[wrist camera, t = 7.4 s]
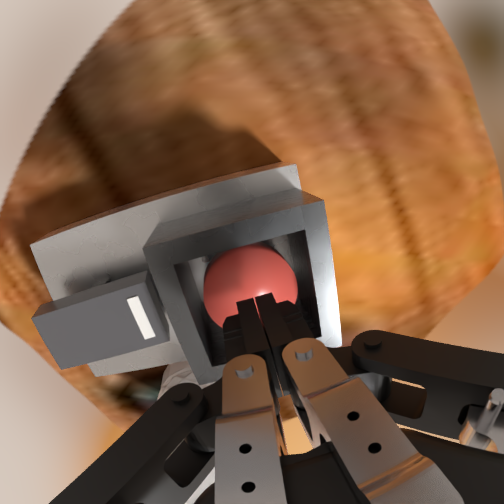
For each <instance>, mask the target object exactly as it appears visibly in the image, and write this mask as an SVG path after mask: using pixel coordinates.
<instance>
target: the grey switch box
mask: <svg viewBox="0 0 504 504" xmlns="http://www.w3.org/2000/svg"><path fill="white" fill-rule="evenodd" d="M256 242H262V243H265V244H268V245H270V246H272V247H273V248H275V249H276V250H277V251H278V252H279V253H280V254H281V255H282V256H283V257H284V259H285V260H286V261H287V263H288V264H289V266H290V267H291V269H292V270H293V272H294V274H295V277H296V280H297V286H298V293H297V299H296V302H295V304H296V306H297V308H298V309H299V311H300V313H301V315H302V316H303V319H304V320H305V322H306V323H307V325H308V327H309V329H310V331H311V332H312V334H313V336H314V338H315V339H318V340H320V341H321V342H322V343H323V344H324V345H325V346H326V347H332V348H336V347H339V346H341V345H342V340H341V328H340V318H339V307H338V298H337V289H336V281H335V272H334V265H333V257H332V250H331V243H330V236H329V229H328V223H327V216H326V210H325V204H324V200H322V199H320V198H318V197H316V196H313V195H311V194H309V193H307V192H305V191H302V190H301V186H300V181H299V176H298V171H297V166H296V164H294V163H288V162H278V163H274V164H270V165H265V166H261V167H257V168H252V169H248V170H244V171H240V172H236V173H232V174H228V175H224V176H220V177H216V178H213V179H209V180H205V181H202V182H198V183H194V184H191V185H187V186H184V187H180V188H177V189H173V190H170V191H167V192H163V193H160V194H157V195H154V196H150V197H147V198H144V199H141V200H138V201H135V202H132V203H128V204H125V205H122V206H119V207H116V208H114V209H111V210H108V211H105V212H102V213H99V214H96V215H94V216H91V217H88V218H85V219H82V220H80V221H77V222H74V223H72V224H69V225H66V226H64V227H61V228H59V229H56V230H54V231H51V232H49V233H48V234H46V235H45V236H43V237H41V238H40V239H38V240H37V241H35V242H34V243H32V244H30V247H31V250H32V252H33V255H34V257H35V260H36V262H37V265H38V267H39V270H40V272H41V275H42V277H43V279H44V282H45V284H46V286H47V288H48V291H49V293H50V295H51V297H52V299H53V301H55V300H58V299H61V298H64V297H67V296H70V295H73V294H76V293H79V292H82V291H85V290H88V289H91V288H94V287H97V286H100V285H103V284H106V283H109V282H112V281H115V280H118V279H121V278H125V277H128V276H131V275H134V274H137V273H140V272H143V271H146V270H147V271H148V274H149V277H150V279H151V282H152V284H153V287H154V290H155V292H156V295H157V297H158V300H159V302H160V305H161V307H162V309H163V312H164V314H165V317H166V319H167V321H168V324H169V331H170V341H168V342H165V343H161V344H158V345H154V346H151V347H147V348H144V349H140V350H137V351H133V352H129V353H126V354H122V355H118V356H115V357H111V358H107V359H103V360H99V361H95V362H91V363H87V364H88V366H89V367H90V369H91V370H92V372H93V374H94V375H95V377H98V376H105V375H111V374H117V373H123V372H129V371H135V370H141V369H146V368H152V367H157V366H162V365H167V364H172V363H177V362H181V361H186V360H187V361H188V363H189V365H190V367H191V369H192V372H193V374H194V376H195V378H196V380H197V382H198V384H199V385H203V384H208V383H212V382H216V381H218V380H219V379H220V378H221V377H222V374H223V369H224V367H225V365H226V364H227V361H226V352H225V344H224V335H223V328H222V327H220V326H219V325H218V324H216V323H215V322H214V321H213V319H212V318H211V317H210V315H209V314H208V312H207V310H206V308H205V304H204V297H203V283H204V274H205V271H206V268H207V266H208V264H209V262H210V261H211V259H212V258H213V257H214V256H215V255H216V254H217V253H219V252H222V251H226V250H230V249H233V248H237V247H241V246H245V245H248V244H252V243H256Z"/></svg>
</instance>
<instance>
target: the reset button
mask: <svg viewBox="0 0 504 504" xmlns="http://www.w3.org/2000/svg"><path fill="white" fill-rule="evenodd" d="M271 292H272V294H273V296H274V298H275V300H276V303H279V302H282V301H286V300H288V301H290V302H292V303H294V304H295V302H296V299H297V293H298V286H297V280H296V277H295V274H294V272H293V270H292V269H291V267H290V266H289V264H288V263H287V261H286V260H285V259H284V257H283V256H282V255H281V254H280V253H279V252H278V251H277V250H276V249H275V248H273V247H272V246H270V245H268V244H265V243H262V242H256V243H252V244H248V245H245V246H241V247H237V248H233V249H230V250H226V251H222V252H219V253H217V254H216V255H215V256H214V257H213V258H212V259H211V261H210V262H209V264H208V266H207V268H206V271H205V274H204V283H203V297H204V304H205V308H206V310H207V312H208V314H209V315H210V317H211V318H212V319H213V321H214V322H215V323H216V324H218V325H219V326H220V327H222V328H223V326H222V325H223V323H224V321H225V319H226V317H228V316H232V315H236V314H238V309H237V304H236V302H238V301H242V300H246V299H249V298H253V299H254V302H255V305H256V301H255V297H256V296H260V295H264V294H267V293H271ZM256 308H257V305H256ZM257 311H258V309H257ZM258 314H259V313H258ZM259 317H260V316H259Z"/></svg>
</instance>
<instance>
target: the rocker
mask: <svg viewBox="0 0 504 504" xmlns="http://www.w3.org/2000/svg"><path fill="white" fill-rule="evenodd" d="M31 319H32V321H33V322H34V324H35V326H36V328H37V330H38V332H39V334H40V335H41V337H42V339H43V341H44V342H45V344H46V346H47V347H48V349H49V351H50V353H51V354H52V356H53V357H54V359H55V361H56V362H57V364H58V365H59V367H60V369H61V370H62V369H66V368H71V367H75V366H79V365H83V364H87V363H91V362H95V361H99V360H103V359H107V358H111V357H115V356H118V355H122V354H126V353H129V352H133V351H137V350H140V349H144V348H147V347H151V346H154V345H158V344H161V343H165V342H168V341H170V331H169V324H168V321H167V319H166V317H165V314H164V312H163V309H162V307H161V305H160V302H159V300H158V297H157V295H156V292H155V290H154V287H153V284H152V282H151V279H150V277H149V274H148V271H147V270H146V271H143V272H140V273H137V274H134V275H131V276H128V277H125V278H121V279H118V280H115V281H112V282H109V283H106V284H103V285H100V286H97V287H94V288H91V289H88V290H85V291H82V292H79V293H76V294H73V295H70V296H67V297H64V298H61V299H58V300H55V301H52V302H49V303H46V304H43V305H41V306H40V307H39V308H38V310H37V311H36V312H35V314H34V315H33V317H32V318H31Z"/></svg>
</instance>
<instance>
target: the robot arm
mask: <svg viewBox="0 0 504 504" xmlns="http://www.w3.org/2000/svg"><path fill="white" fill-rule="evenodd" d="M255 301H256V305H257V308H256V305H255V302H254V299H253V298H249V299H246V300H242V301H238V302H236V304H237V309H238V314H236V315H232V316H228V317H226V319H225V321H224V323H223V325H222V326H223V335H224V344H225V352H226V361H227V364H226V365H225V367H224V369H223V374H222V377H221V378H220V379H219V380H218V381H216V382H215V383H213V384H211V385H209V386H207V387H205V388H203V389H201V387H200V386H198V385H197V384H194V383H181V384H177V385H175V386H173V387H171V388H170V389H168V390H167V391H166V392H165V393H164V394H163V395H162V396H161V397H160V398H159V399H158V400H157V401H156V402H155V403H154V404H153V405H152V406H151V407H150V408H149V409H148V410H147V411H146V412H145V413H144V414H143V415H142V416H141V417H140V418H139V419H138V420H137V421H136V422H135V423H134V424H133V425H132V426H131V427H130V428H129V429H128V430H127V431H126V432H125V433H124V434H123V435H122V436H121V437H120V438H119V439H118V440H117V441H116V442H114V443H113V444H112V446H110V447H109V448H108V449H107V450H106V451H105V452H104V453H103V454H102V455H101V456H100V457H99V458H98V459H97V460H96V461H95V462H93V463H92V464H91V466H89V467H88V468H87V469H86V470H85V471H84V472H83V473H82V474H81V475H80V476H78V478H76V479H75V480H74V481H73V482H72V483H71V484H70V485H69V486H68V487H66V489H64V490H63V491H62V492H61V493H60V494H59V495H58V496H56V497H55V498H54V499H53V500H52V501H51V502H50V503H49V504H185V503H186V502H187V500H188V499H189V498H190V497H191V496H192V494H193V493H194V492H195V491H196V489H197V488H198V487H199V486H200V485H201V483H202V482H203V481H204V480H205V478H206V477H207V476H208V475H209V473H210V472H211V471H212V469H213V468H214V467H215V482H214V483H213V484H211V485H210V486H209V487H208V488H206V489H205V490H204V491H203V493H202V494H201V495H200V496H199V497H198V498H197V500H196V501H195V502H194V504H504V354H502V353H496V352H489V351H483V350H477V349H472V348H466V347H461V346H455V345H450V344H444V343H439V342H433V341H429V340H424V339H419V338H414V337H409V336H404V335H400V334H395V333H390V332H386V331H381V330H369V331H365V332H363V333H360V334H359V335H357V336H356V337H355V338H354V339H353V341H352V344H351V346H348V347H339V348H332V347H326V346H325V345H324V344H323V343H322V342H321V341H320V340H318V339H315V338H314V336H313V334H312V332H311V331H310V329H309V327H308V325H307V323H306V322H305V320H304V319H303V316H302V315H301V313H300V311H299V309H298V308H297V306H296V304H294V303H292V302H290V301H288V300H286V301H282V302H279V303H276V300H275V298H274V296H273V294H272V292H271V293H267V294H264V295H260V296H256V297H255ZM257 309H258V311H257ZM258 313H259V314H258ZM259 316H260V317H259ZM275 369H276V370H275ZM276 372H277V374H276ZM277 375H278V378H279V381H280V384H281V387H282V390H283V393H284V396H285V395H289V394H290V395H291V397H292V400H293V404H294V409H295V412H296V414H297V416H298V418H299V420H300V422H301V424H302V426H303V428H304V431H305V433H306V435H307V437H308V439H309V441H310V443H311V445H312V447H313V449H312V450H311V451H309V452H307V453H303V454H293V455H288V452H287V447H286V441H285V436H284V431H283V426H282V420H281V415H280V412H279V411H280V405H279V401H278V398H279V397H282V393H281V389H280V385H279V381H278V378H277ZM392 378H395V379H398V380H402V381H407V382H410V383H414V384H418V385H421V386H422V387H424V388H425V389H422V388H418V387H414V386H410V385H406V384H402V383H399V382H395V381H392ZM396 423H397V424H400V425H404V426H407V427H410V428H414V429H417V430H421V431H425V432H429V433H432V434H436V435H440V436H444V437H448V438H453V439H457V440H459V441H460V444H459V443H455V442H451V441H448V440H444V439H441V438H437V437H434V436H430V435H427V434H424V433H421V432H418V431H414V430H410V429H405V428H399V427H398V426H397V424H396ZM180 443H181V444H180ZM179 444H180V445H179ZM178 445H179V446H178ZM173 451H174V452H173ZM172 452H173V453H172ZM171 453H172V454H171ZM170 454H171V455H170Z"/></svg>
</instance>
